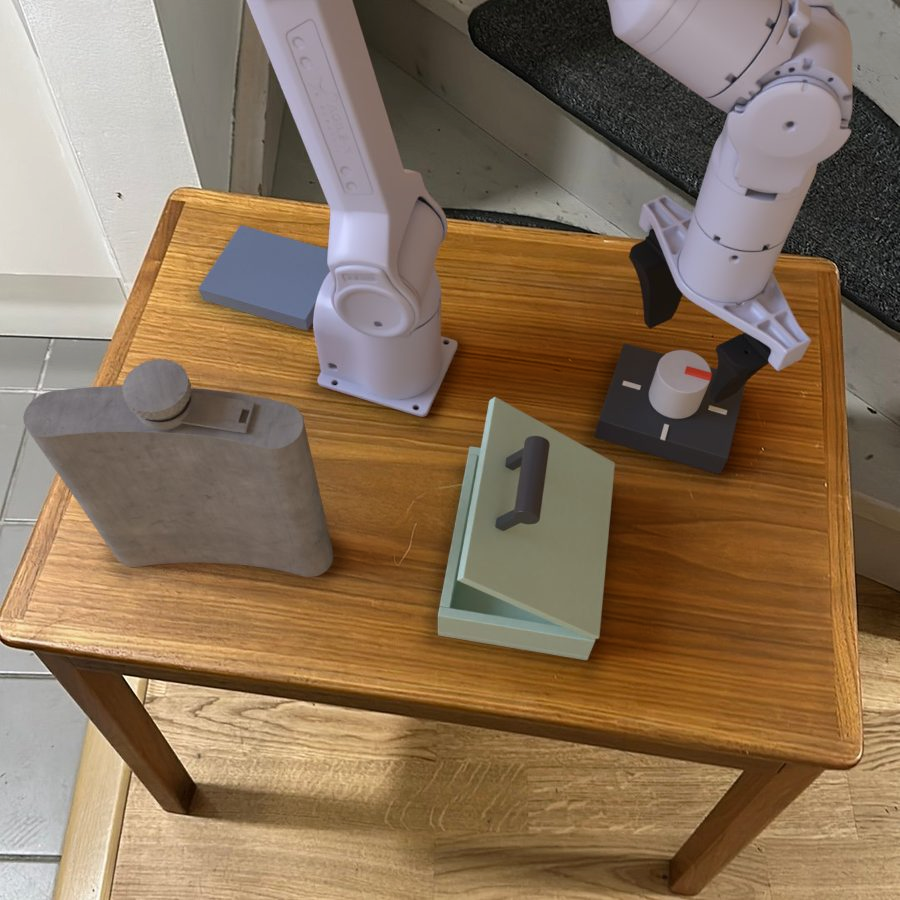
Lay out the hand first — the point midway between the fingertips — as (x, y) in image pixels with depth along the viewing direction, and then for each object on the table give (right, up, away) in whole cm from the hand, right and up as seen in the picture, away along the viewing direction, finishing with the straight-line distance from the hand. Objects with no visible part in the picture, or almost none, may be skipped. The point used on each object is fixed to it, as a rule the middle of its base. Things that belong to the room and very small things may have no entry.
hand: (689, 356), depth 67 cm
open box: (-12, -15, 0) cm, 19 cm away
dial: (0, -3, +5) cm, 6 cm away
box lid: (-11, -11, -5) cm, 17 cm away
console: (0, -4, +7) cm, 8 cm away
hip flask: (-34, -14, +1) cm, 36 cm away
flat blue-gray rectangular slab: (-33, +8, +14) cm, 37 cm away
